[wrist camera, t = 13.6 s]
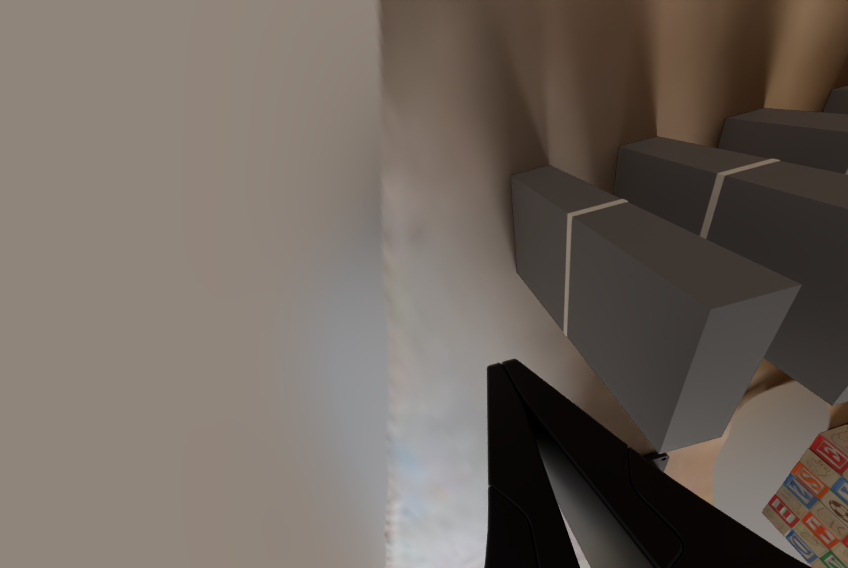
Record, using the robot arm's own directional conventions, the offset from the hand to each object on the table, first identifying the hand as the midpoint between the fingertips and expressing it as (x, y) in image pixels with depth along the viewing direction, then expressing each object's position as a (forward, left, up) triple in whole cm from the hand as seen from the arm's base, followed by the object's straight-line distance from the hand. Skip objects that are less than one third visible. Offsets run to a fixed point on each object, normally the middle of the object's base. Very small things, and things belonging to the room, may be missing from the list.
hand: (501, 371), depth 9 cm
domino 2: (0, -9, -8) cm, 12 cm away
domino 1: (0, -4, -8) cm, 9 cm away
